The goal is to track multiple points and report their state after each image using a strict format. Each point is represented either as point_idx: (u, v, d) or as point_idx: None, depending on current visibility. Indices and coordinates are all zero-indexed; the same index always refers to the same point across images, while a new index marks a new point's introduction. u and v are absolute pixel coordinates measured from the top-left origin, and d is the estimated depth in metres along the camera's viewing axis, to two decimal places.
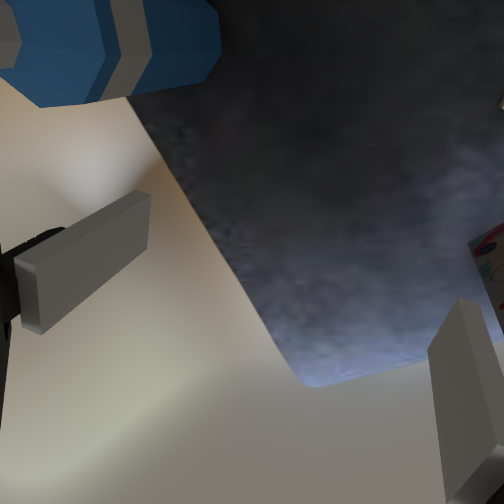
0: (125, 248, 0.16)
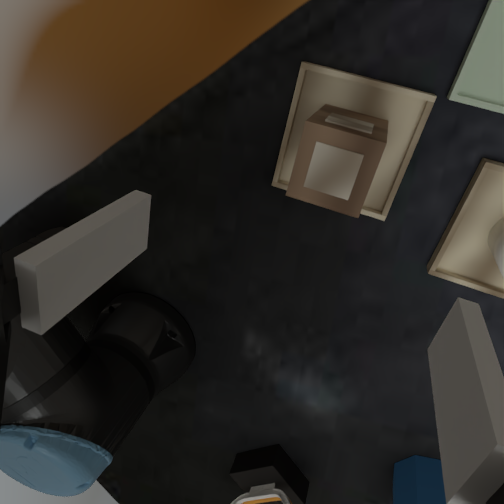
0: (125, 248, 0.16)
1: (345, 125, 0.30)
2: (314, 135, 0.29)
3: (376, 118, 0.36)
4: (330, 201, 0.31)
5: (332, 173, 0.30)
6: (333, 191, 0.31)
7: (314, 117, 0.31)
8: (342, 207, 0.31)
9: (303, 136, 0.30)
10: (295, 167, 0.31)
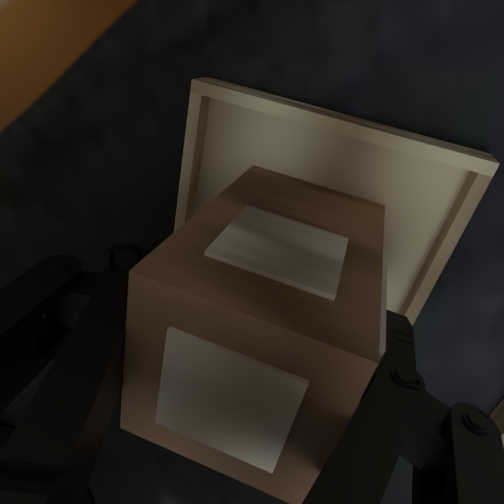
0: None
1: (260, 270, 0.10)
2: (161, 311, 0.10)
3: (358, 201, 0.17)
4: (228, 462, 0.12)
5: (225, 406, 0.11)
6: (231, 447, 0.11)
7: (180, 239, 0.11)
8: (260, 480, 0.11)
9: (132, 309, 0.10)
10: (128, 376, 0.11)
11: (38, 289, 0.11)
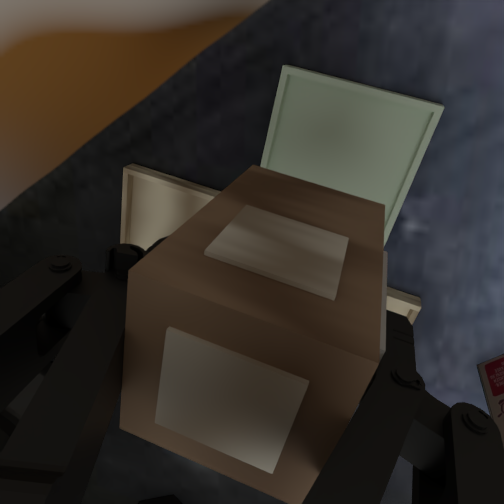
0: None
1: (260, 270, 0.10)
2: (160, 311, 0.10)
3: (358, 201, 0.17)
4: (228, 462, 0.12)
5: (225, 406, 0.10)
6: (231, 448, 0.11)
7: (179, 239, 0.11)
8: (260, 480, 0.11)
9: (131, 309, 0.10)
10: (128, 376, 0.11)
11: (38, 289, 0.11)
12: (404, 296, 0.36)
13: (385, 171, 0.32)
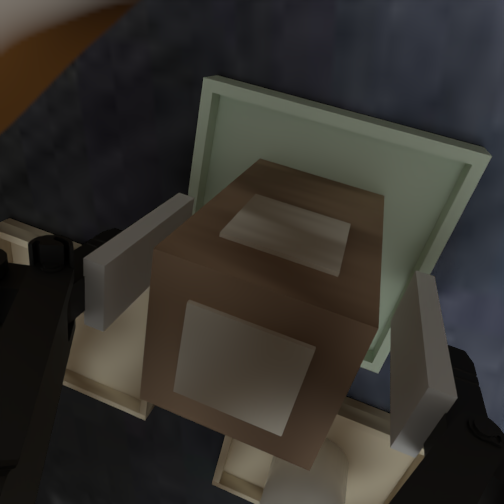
0: None
1: (271, 250, 0.11)
2: (182, 285, 0.11)
3: (359, 192, 0.18)
4: (240, 427, 0.13)
5: (239, 373, 0.12)
6: (244, 413, 0.12)
7: (196, 222, 0.12)
8: (270, 444, 0.12)
9: (155, 284, 0.11)
10: (149, 348, 0.12)
11: None
12: None
13: (382, 253, 0.19)
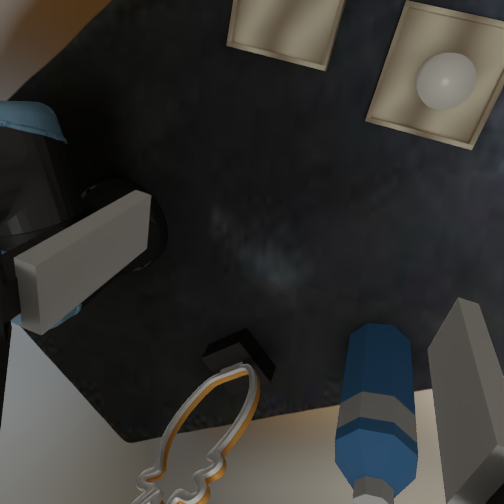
0: (124, 248, 0.16)
1: None
2: None
3: None
4: None
5: None
6: None
7: None
8: None
9: None
10: None
11: None
12: None
13: None
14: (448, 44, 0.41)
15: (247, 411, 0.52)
